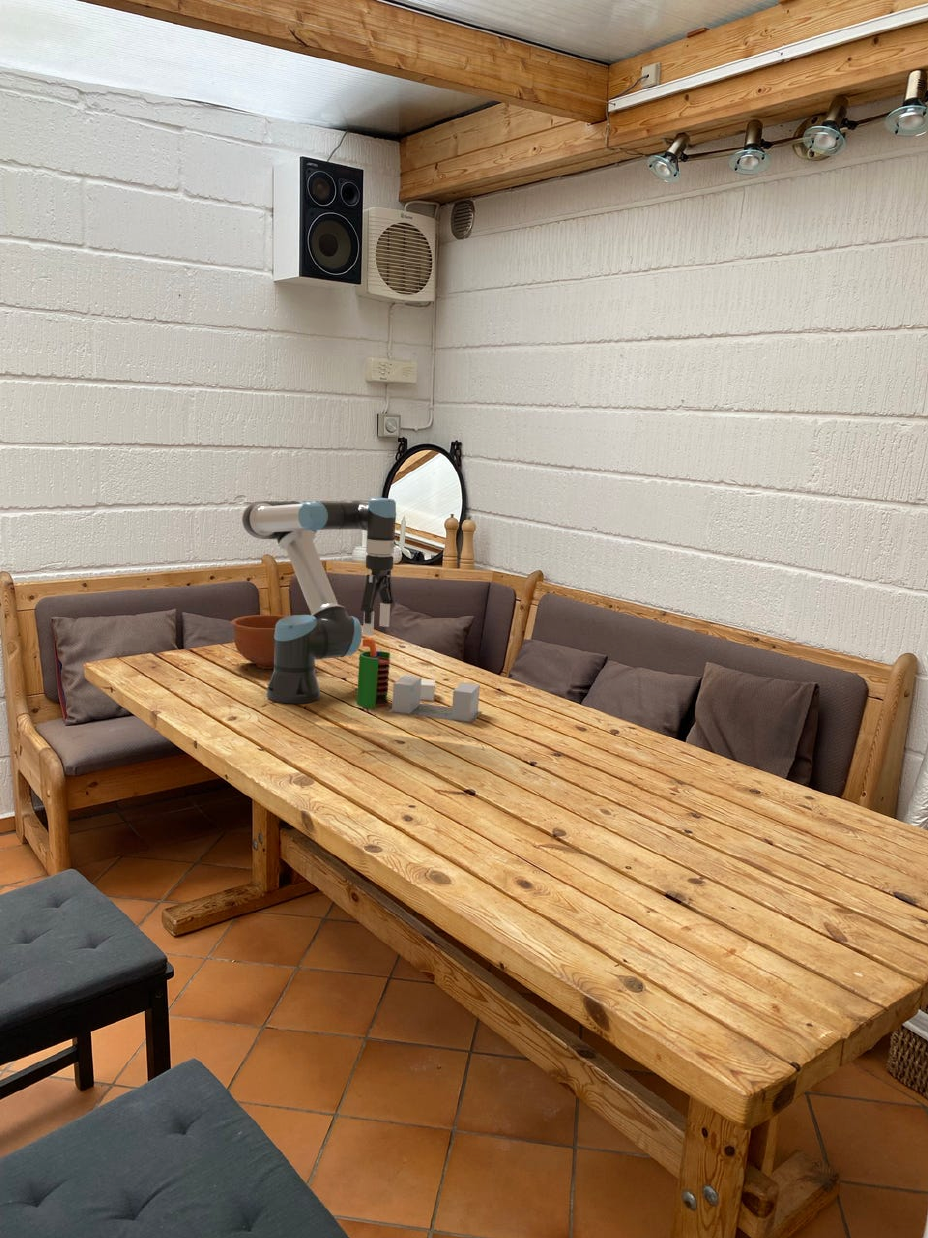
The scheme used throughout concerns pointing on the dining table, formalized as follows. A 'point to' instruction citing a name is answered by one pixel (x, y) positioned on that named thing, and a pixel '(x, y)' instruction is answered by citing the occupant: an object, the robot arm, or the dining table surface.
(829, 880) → the dining table surface
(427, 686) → the loose relay
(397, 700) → the block
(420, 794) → the dining table surface
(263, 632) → the bowl
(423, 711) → the rail plate
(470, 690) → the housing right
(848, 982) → the dining table surface
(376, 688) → the motor
